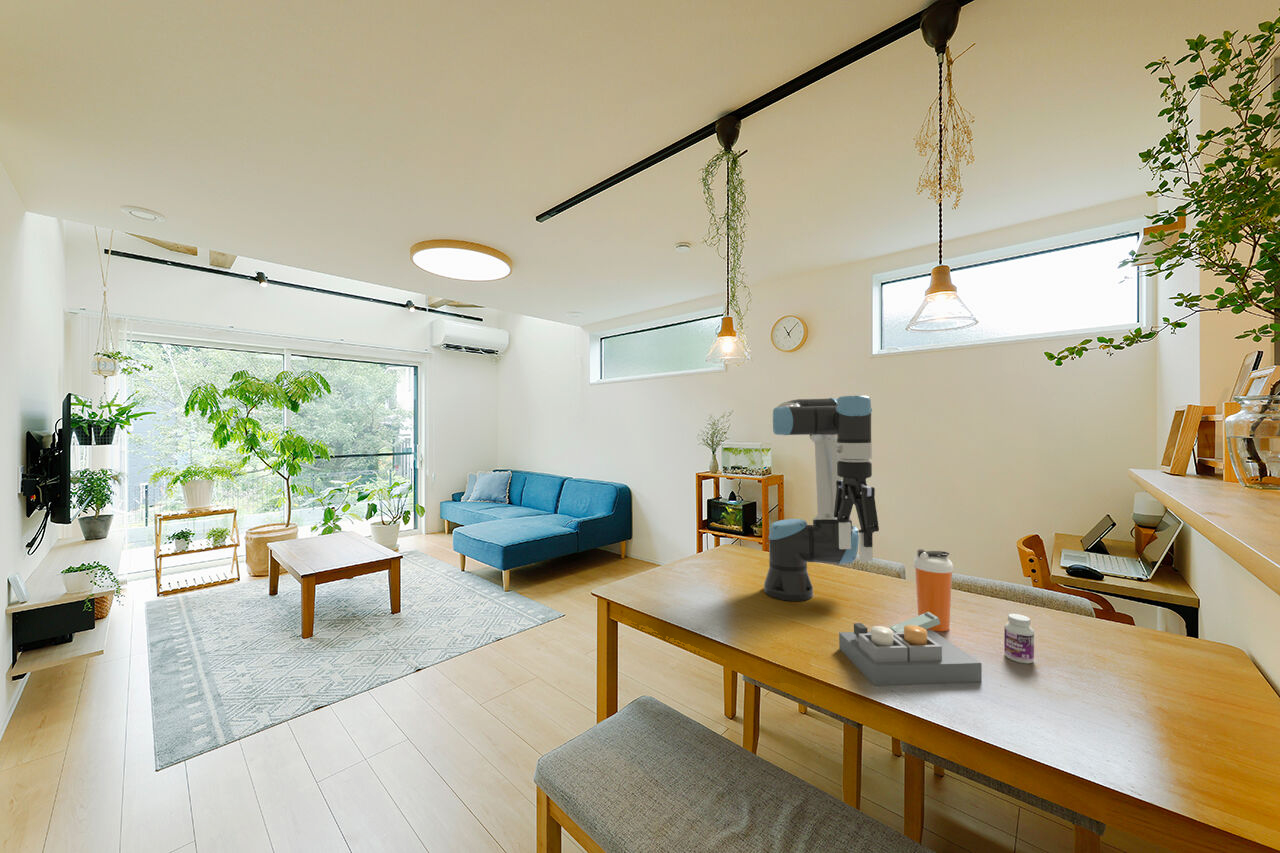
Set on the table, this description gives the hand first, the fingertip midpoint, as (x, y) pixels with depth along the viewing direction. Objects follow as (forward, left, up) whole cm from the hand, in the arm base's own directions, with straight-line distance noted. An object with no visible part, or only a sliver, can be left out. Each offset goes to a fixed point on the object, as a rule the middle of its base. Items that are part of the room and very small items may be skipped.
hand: (855, 554), depth 112 cm
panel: (+6, +8, -23) cm, 26 cm away
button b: (+9, +9, -17) cm, 21 cm away
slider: (+3, 0, -18) cm, 19 cm away
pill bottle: (+5, +36, -24) cm, 43 cm away
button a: (+9, +1, -17) cm, 20 cm away
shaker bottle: (-13, +28, -24) cm, 39 cm away
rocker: (+3, +13, -16) cm, 21 cm away
